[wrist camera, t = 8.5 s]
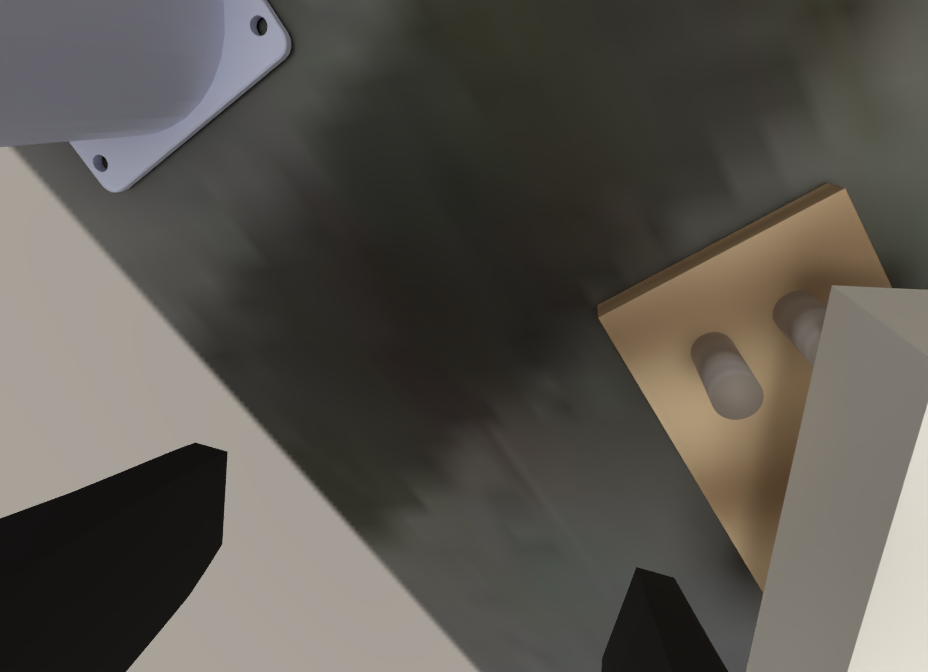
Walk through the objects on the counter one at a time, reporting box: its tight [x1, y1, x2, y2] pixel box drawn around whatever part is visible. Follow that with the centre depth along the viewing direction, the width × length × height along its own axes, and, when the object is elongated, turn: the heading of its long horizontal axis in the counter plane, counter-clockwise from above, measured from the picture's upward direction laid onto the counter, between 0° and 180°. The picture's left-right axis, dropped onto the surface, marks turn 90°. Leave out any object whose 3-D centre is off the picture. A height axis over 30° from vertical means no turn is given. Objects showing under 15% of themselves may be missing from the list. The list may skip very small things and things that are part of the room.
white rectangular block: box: [746, 285, 928, 672], centre depth 14 cm, size 12×4×4 cm, turn 0°
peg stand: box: [597, 183, 892, 593], centre depth 18 cm, size 14×7×4 cm, turn 33°
